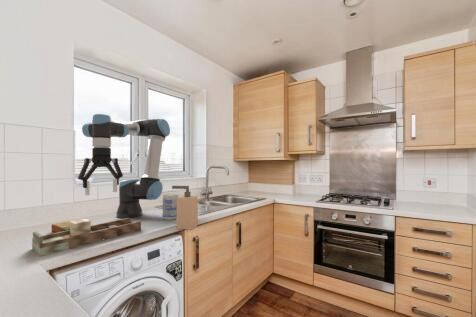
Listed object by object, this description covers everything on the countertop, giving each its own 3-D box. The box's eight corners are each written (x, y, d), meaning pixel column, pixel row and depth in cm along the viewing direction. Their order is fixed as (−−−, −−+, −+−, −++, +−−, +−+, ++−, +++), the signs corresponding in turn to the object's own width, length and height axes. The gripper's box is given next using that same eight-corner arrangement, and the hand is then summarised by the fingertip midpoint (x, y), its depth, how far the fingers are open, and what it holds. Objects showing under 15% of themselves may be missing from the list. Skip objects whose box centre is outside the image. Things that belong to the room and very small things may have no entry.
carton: (70, 228, 122) (70, 220, 122) (85, 233, 114) (85, 225, 114) (51, 232, 115) (51, 224, 115) (66, 238, 106) (66, 229, 106)
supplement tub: (165, 221, 135) (165, 195, 135) (160, 217, 143) (160, 193, 143) (181, 218, 141) (181, 194, 141) (175, 215, 149) (175, 192, 149)
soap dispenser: (197, 225, 127) (197, 185, 127) (192, 229, 118) (192, 187, 118) (175, 224, 129) (175, 184, 129) (169, 228, 120) (169, 186, 120)
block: (85, 231, 106) (85, 218, 106) (90, 234, 102) (90, 220, 102) (69, 235, 101) (69, 221, 101) (74, 237, 98) (74, 223, 98)
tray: (129, 225, 125) (129, 213, 125) (140, 230, 118) (140, 216, 118) (32, 248, 94) (32, 231, 94) (40, 256, 86) (40, 237, 86)
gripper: (123, 148, 121) (123, 190, 121) (69, 146, 102) (69, 195, 102) (130, 148, 116) (130, 191, 116) (75, 146, 97) (75, 197, 97)
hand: (101, 193), depth 109 cm, fingers open, 11 cm apart
